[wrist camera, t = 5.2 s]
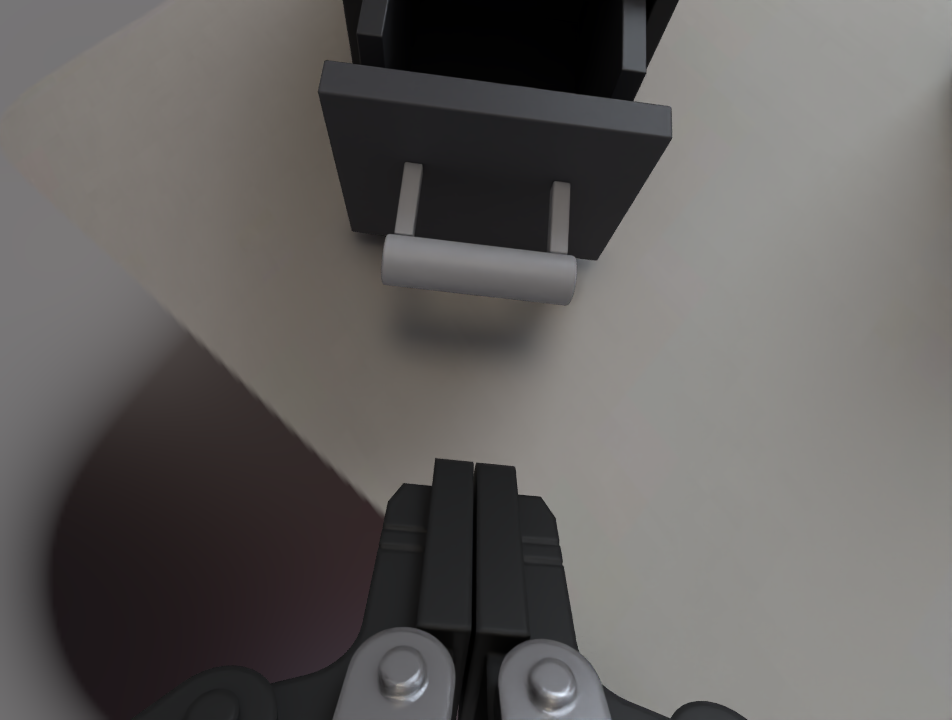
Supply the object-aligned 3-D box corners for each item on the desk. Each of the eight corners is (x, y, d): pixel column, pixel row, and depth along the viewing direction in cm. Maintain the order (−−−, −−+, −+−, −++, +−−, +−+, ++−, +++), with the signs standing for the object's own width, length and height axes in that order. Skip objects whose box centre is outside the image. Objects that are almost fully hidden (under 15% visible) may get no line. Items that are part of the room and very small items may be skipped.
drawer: (594, 357, 23) (676, 270, 15) (334, 328, 22) (289, 224, 15) (602, 33, 28) (666, -149, 20) (391, 3, 27) (377, -195, 20)
